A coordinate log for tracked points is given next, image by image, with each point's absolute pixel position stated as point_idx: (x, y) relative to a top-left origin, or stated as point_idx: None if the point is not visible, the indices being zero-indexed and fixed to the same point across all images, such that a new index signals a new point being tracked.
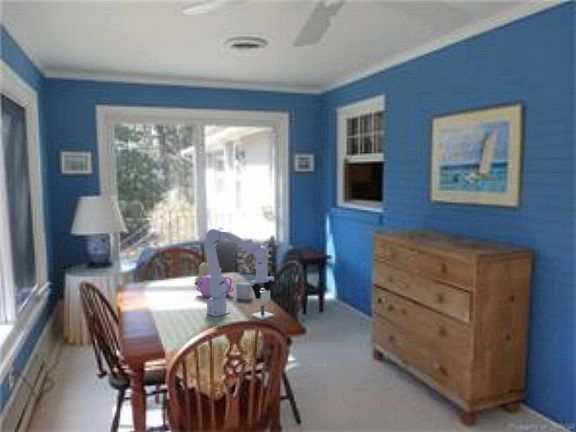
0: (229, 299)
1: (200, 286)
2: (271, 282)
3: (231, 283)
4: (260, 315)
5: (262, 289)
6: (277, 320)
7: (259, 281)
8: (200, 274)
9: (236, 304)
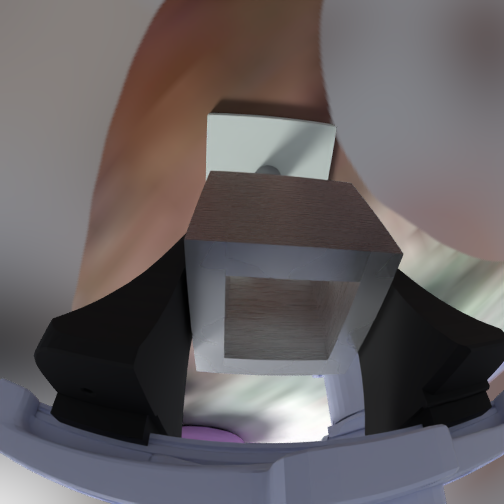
0: (196, 410)
1: None
2: (75, 368)
3: None
4: (297, 172)
5: (227, 350)
6: (266, 28)
7: (488, 449)
8: None
9: (216, 378)
